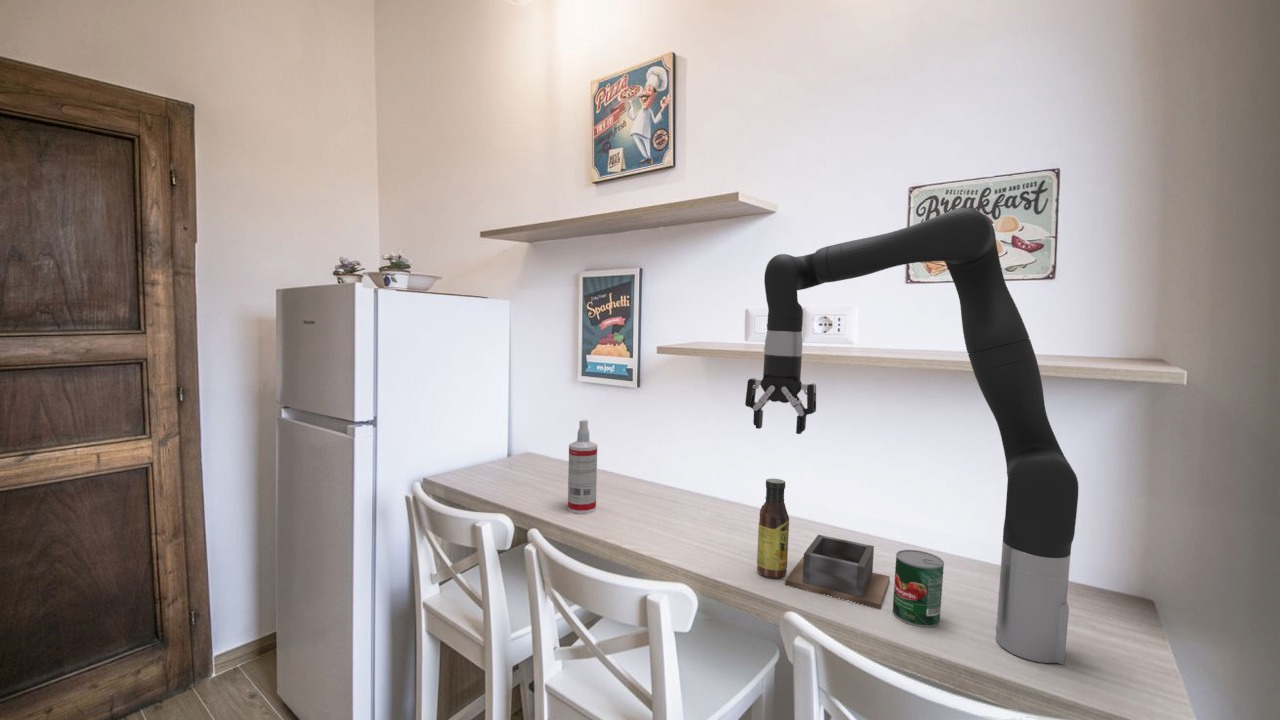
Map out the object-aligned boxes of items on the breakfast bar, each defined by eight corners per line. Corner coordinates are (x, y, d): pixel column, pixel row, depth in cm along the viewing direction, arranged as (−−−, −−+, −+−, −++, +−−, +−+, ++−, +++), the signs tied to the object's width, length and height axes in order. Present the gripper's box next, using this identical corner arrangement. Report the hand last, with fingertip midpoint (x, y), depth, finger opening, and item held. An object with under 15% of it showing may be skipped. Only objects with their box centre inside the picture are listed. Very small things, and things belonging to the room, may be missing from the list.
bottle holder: (889, 581, 119) (891, 548, 118) (880, 609, 107) (882, 573, 106) (802, 560, 128) (804, 530, 127) (784, 584, 116) (786, 551, 115)
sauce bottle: (785, 582, 117) (789, 486, 116) (754, 576, 119) (758, 483, 118) (788, 569, 123) (792, 478, 122) (759, 564, 125) (762, 475, 124)
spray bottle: (592, 514, 154) (594, 423, 153) (565, 513, 155) (567, 422, 153) (597, 505, 162) (599, 418, 160) (571, 504, 163) (573, 417, 161)
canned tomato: (886, 617, 104) (890, 558, 103) (899, 601, 110) (902, 545, 110) (934, 632, 99) (938, 571, 98) (944, 615, 105) (948, 557, 104)
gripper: (822, 354, 117) (817, 432, 119) (755, 350, 125) (751, 423, 126) (813, 356, 111) (808, 438, 112) (743, 351, 118) (739, 428, 119)
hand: (778, 430), depth 119 cm, fingers open, 8 cm apart
